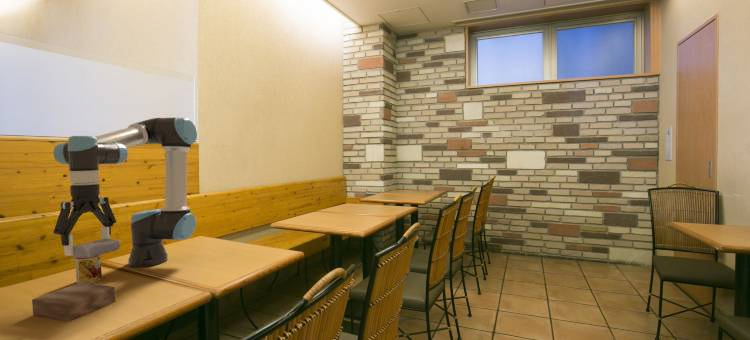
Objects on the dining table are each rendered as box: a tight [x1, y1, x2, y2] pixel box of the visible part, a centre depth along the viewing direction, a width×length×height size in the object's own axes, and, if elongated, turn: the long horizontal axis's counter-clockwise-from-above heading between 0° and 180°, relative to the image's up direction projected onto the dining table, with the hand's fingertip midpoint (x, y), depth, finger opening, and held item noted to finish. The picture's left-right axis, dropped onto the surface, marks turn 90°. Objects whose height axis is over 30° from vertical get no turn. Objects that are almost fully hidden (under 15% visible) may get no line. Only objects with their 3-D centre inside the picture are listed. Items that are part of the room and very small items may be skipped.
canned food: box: [74, 254, 103, 284], centre depth 148 cm, size 8×8×12 cm
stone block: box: [69, 238, 121, 259], centre depth 124 cm, size 12×5×10 cm
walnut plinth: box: [31, 283, 116, 322], centre depth 123 cm, size 15×15×5 cm
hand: (88, 250), depth 124 cm, fingers closed on stone block, 11 cm apart
